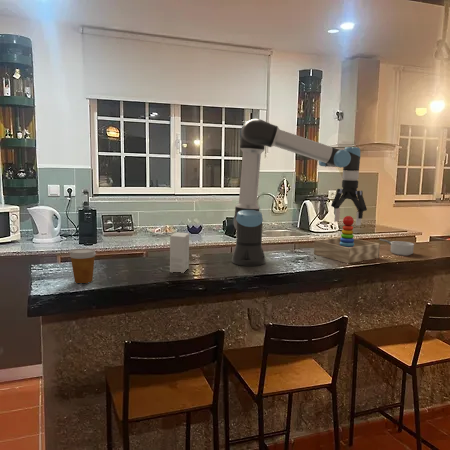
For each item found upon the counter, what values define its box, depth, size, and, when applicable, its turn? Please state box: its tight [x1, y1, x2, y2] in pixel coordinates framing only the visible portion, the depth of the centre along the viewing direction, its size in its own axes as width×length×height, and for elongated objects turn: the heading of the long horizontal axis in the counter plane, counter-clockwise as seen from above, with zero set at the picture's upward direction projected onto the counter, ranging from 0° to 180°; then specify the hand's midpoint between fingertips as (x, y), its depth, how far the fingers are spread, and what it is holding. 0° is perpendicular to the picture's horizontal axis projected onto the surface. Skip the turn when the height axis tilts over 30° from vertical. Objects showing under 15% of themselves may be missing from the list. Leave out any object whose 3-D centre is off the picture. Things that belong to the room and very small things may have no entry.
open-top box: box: [313, 236, 381, 264], centre depth 215 cm, size 22×22×7 cm
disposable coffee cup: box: [68, 247, 97, 284], centre depth 164 cm, size 10×10×12 cm
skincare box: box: [169, 231, 190, 274], centre depth 182 cm, size 8×7×16 cm
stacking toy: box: [340, 215, 355, 248], centre depth 214 cm, size 8×8×19 cm
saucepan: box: [378, 238, 415, 256], centre depth 226 cm, size 12×20×6 cm, turn 30°
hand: (347, 223), depth 213 cm, fingers open, 13 cm apart
